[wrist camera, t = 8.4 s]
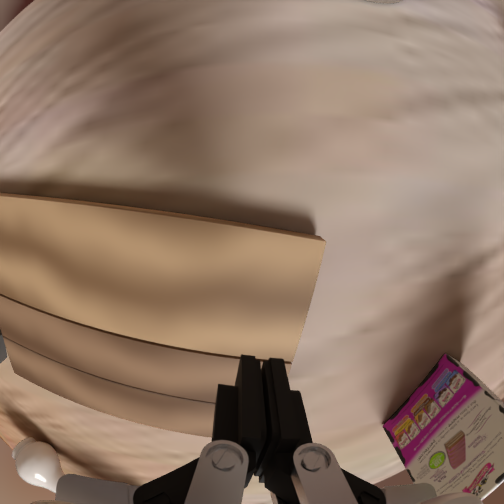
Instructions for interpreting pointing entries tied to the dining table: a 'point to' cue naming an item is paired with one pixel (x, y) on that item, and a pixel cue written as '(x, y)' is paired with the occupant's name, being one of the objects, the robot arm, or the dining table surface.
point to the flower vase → (37, 463)
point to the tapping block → (2, 348)
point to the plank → (160, 274)
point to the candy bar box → (451, 432)
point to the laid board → (117, 370)
